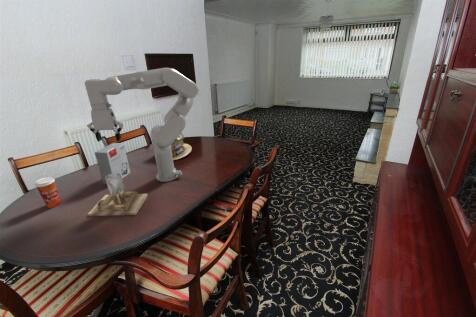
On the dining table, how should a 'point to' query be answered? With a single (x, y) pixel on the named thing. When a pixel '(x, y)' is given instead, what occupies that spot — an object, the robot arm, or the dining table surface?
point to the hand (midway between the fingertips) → (109, 140)
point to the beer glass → (116, 188)
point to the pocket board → (129, 208)
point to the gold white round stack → (180, 148)
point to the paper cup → (48, 191)
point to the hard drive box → (112, 160)
